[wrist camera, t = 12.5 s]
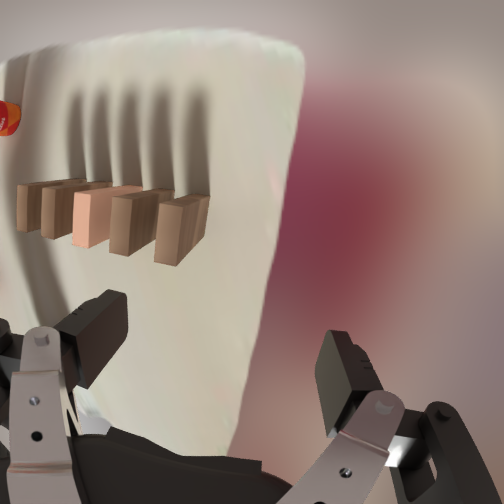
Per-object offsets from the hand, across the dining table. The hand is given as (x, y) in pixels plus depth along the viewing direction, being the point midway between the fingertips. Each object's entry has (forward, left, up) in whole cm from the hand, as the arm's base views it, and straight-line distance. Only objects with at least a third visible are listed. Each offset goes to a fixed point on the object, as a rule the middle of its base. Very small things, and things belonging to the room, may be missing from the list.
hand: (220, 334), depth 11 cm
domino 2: (-20, 0, -25) cm, 31 cm away
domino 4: (-11, 0, -25) cm, 27 cm away
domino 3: (-15, 0, -25) cm, 29 cm away
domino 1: (-24, 0, -25) cm, 35 cm away
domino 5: (-6, 0, -25) cm, 25 cm away
